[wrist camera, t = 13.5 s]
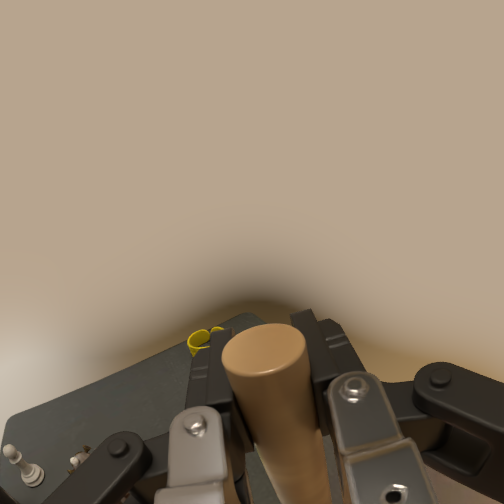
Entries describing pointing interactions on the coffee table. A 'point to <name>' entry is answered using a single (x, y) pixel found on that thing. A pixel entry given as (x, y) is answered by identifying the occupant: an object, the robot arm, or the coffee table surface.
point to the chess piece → (24, 467)
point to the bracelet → (199, 339)
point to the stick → (280, 409)
